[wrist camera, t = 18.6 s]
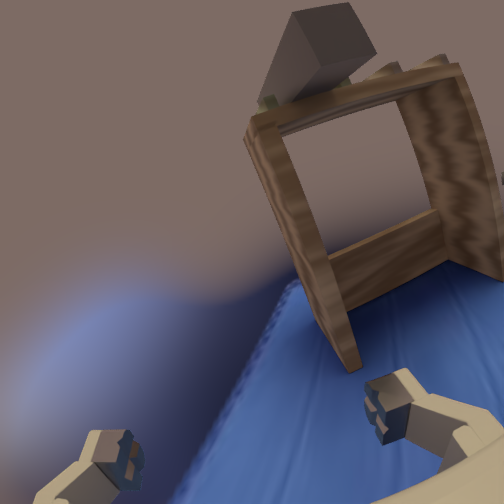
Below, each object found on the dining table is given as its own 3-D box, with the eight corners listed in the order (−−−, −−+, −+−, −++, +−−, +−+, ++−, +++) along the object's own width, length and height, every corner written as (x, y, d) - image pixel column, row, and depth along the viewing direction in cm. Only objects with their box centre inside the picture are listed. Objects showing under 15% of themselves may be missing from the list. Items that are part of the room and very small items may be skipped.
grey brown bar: (377, 53, 16) (348, 2, 15) (321, 66, 16) (292, 12, 15) (296, 120, 39) (284, 93, 38) (268, 130, 39) (256, 103, 38)
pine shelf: (510, 276, 30) (453, 52, 24) (349, 373, 30) (245, 103, 24) (449, 252, 44) (396, 81, 38) (315, 320, 44) (239, 130, 38)
